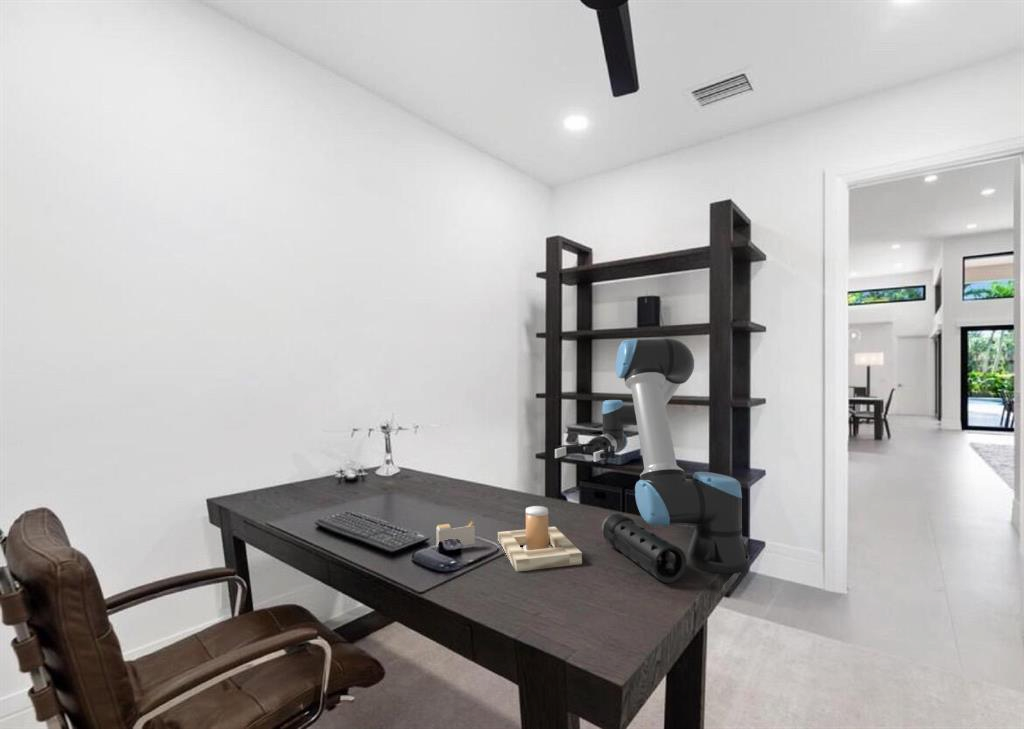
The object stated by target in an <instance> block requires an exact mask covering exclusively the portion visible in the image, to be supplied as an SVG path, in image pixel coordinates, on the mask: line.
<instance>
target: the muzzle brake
mask: <svg viewBox="0 0 1024 729" xmlns="http://www.w3.org/2000/svg"><path fill="white" fill-rule="evenodd" d="M601 534H602V536H603V539H604V540H605V542H606V543H607V544H608V545H610V546H611V547H612V548H613V549H614V550H618V552H621V553H623V555H625V556H626V557H628V558H629V559H630V560H632V561H633V562H635V563H636V564H637V565H639V566H640V567H642V568H643V569H644V570H645V571H647V572H648V573H649V574H651V575H653V577H655V578H656V579H658V580H659V581H661V582H662V583H665V584H672V583H675V582H676V581H678V580H679V579H680V578H681V577H682V576H683V575H684V573H685V571H686V567H687V558H686V555H685V553H684V551H683V550H682V549H681V548H680V547H678V545H675V544H673V543H672V542H670V541H668V540H666V539H665V538H663V537H661V536H660V535H658V534H656V533H655V532H653V531H651V530H650V529H647V528H646V527H644V525H643V526H642V525H641V524H639V523H637V522H636V521H635V520H634V519H632V518H631V517H629V516H628V515H626V514H623V513H613V514H610V515H607V516H606V517H605V519H604V520H603V521H602V523H601ZM670 553H672V554H673V555H674V556H675V560H674V563H673V562H671V561H669V559H670Z"/></svg>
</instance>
